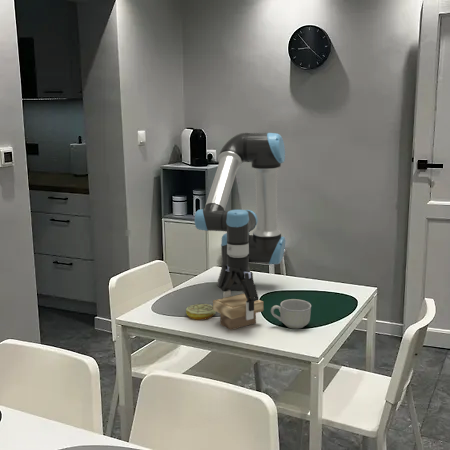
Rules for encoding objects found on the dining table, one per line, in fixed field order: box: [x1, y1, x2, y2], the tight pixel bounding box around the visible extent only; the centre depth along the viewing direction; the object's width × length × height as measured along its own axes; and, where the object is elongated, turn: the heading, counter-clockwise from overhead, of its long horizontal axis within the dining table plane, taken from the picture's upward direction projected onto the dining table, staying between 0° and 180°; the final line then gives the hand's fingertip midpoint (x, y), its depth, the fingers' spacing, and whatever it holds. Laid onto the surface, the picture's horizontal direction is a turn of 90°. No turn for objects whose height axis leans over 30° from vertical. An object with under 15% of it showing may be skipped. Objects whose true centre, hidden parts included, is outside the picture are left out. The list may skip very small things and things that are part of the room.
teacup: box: [270, 298, 312, 330], centre depth 212 cm, size 14×11×8 cm
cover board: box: [212, 292, 264, 319], centre depth 213 cm, size 12×14×4 cm
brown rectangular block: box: [219, 313, 257, 331], centre depth 214 cm, size 6×11×5 cm, turn 125°
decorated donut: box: [185, 303, 217, 321], centre depth 223 cm, size 10×11×4 cm
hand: (238, 313), depth 214 cm, fingers open, 13 cm apart
